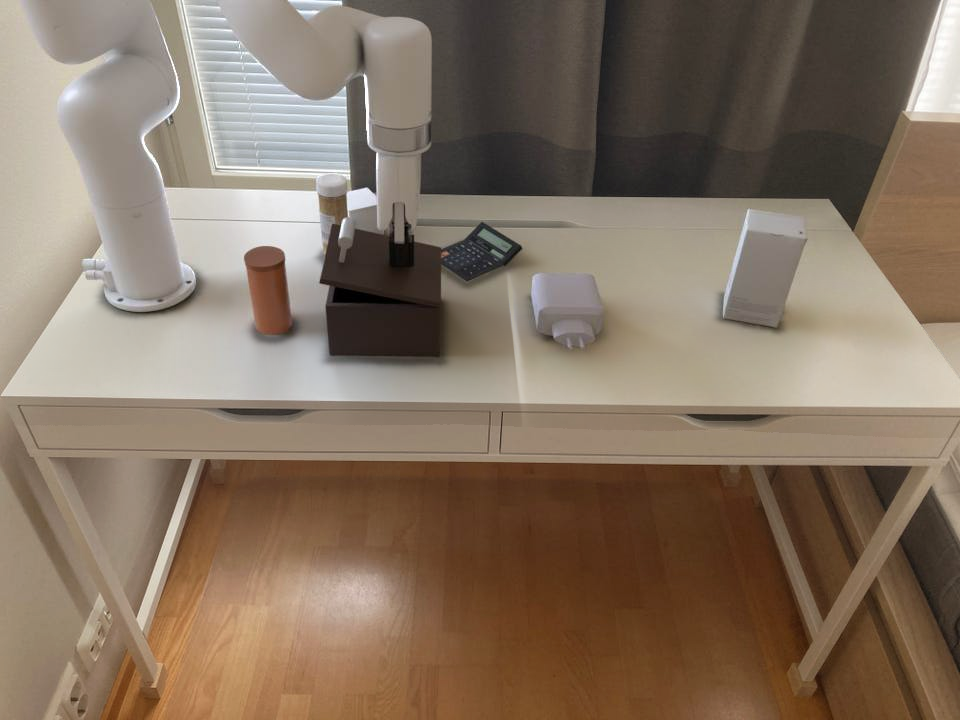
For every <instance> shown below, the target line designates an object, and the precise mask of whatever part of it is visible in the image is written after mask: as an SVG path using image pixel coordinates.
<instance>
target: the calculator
mask: <svg viewBox="0 0 960 720" xmlns="http://www.w3.org/2000/svg"><path fill="white" fill-rule="evenodd" d="M522 250H523V247H522V245H521V244H520V243H518V242H516V241H515V240H513V239H511V238H510V237H508V236H506V235H505V234H503V233H501V232H500V231H499V230H496V229H494V228H493V227H492V226H490V225H489V224H487V223H485V222H483V221H481V222H480V223H479V224H478V225H477V226H476V227H475V228H474V229H473V230H472V231H471V232H470V233H469V234H468V235H467V236H466V237H465V238H464V239H463V240H460V241H458V242H454V243H453V244H450V245H448V246H446V247H445V246H444V247H443V248H441V265H442V266H444V267H445V268H447V269H448V270H449V271H451V272H453V273H454V274H455V275H457V276H459V277H460V278H462V279H463V280H465V281H466V282H468V281H471V280H473V279H475V278H477V277H480V276H482V275H484V274H486V273H489V272H491V271H493V270H496V269H498V268H500V267H502V266H504V267H506V266H507V265H508V264H509V263H510V262H511V261H512V260H513V259H514V258H516V256H517V255H518V254H519V253H520V252H521V251H522Z"/></svg>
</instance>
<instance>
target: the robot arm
mask: <svg viewBox="0 0 960 720" xmlns="http://www.w3.org/2000/svg"><path fill="white" fill-rule="evenodd" d="M18 2H19V5H20V7H21V10H22V11H23V14H24V16H25V18H26V21H27V22H28V25H29V27H30V29H31V32H32V34H33V35H34V37H35V39H36V41H37V43H38V45H39V46H40V47H41V49H42V50H43V51H44V52H45V53H46V55H47V56H48V57H50V58H51V59H53V60H54V61H56V62H58V63H60V64H63V65H70V66H74V65H81V64H85V63H88V62H91V61H93V60H94V59H96V58H99V57H100V56H102V58H103V60H104V62H103V63H101V64H98V65H96V66H94V67H93V68H91V69H89V70H88V71H86V72H84V73H83V74H81V75H79V76H78V77H76V78H75V79H73V80H72V81H71V82H70V83H69V84H67V86H66V87H64V89H63V90H62V92H61V93H60V95H59V98H58V100H57V104H56V118H57V122H58V126H59V127H60V128H59V129H60V130H61V132H62V134H63V136H64V138H65V140H66V142H67V143H68V145H69V147H70V149H71V151H72V153H73V156H74V157H75V160H76V162H77V164H78V167H79V170H80V173H81V175H82V176H81V177H82V179H83V183H84V185H85V187H86V188H85V189H86V192H87V195H88V198H89V201H90V202H89V203H90V205H91V208H92V212H93V215H94V219H95V222H96V226H97V229H98V233H99V237H100V239H101V243H102V246H103V250H104V253H105V259H98V258H83V259H82V262H81V268H82V271H83V272H84V274H85V279H86V280H87V281H98V280H99V281H103V283H104V284H103V293H104V296H105V299H106V301H108V303H109V304H111V305H112V306H113V307H115V308H117V309H120V310H123V311H126V312H133V313H146V312H156V311H161V310H164V309H167V308H170V307H173V306H175V305H177V304H179V303H181V302H183V301H185V299H187V298H188V297H189V296H191V294H192V293H193V292H194V290H195V288H196V286H197V280H196V274H195V272H194V270H193V269H192V268H191V267H190V266H189V265H188V264H186V263H185V262H182V261H181V257H180V253H179V248H178V247H179V246H178V243H177V239H176V235H175V229H174V225H173V221H172V216H171V211H170V206H169V203H168V197H167V192H166V188H165V184H164V179H163V175H162V171H161V169H160V167H159V165H158V163H157V161H156V159H155V158H154V157H153V155H152V154H151V153H150V151H149V150H148V149H147V147H146V145H145V136H146V135H147V134H149V133H150V132H151V131H152V130H153V129H155V127H157V126H159V124H161V123H162V122H163V121H165V120H167V119H168V118H169V117H170V116H171V115H172V114H173V113H174V111H175V110H176V109H177V106H178V104H179V101H180V84H179V80H178V75H177V72H176V69H175V66H174V63H173V60H172V57H171V54H170V51H169V50H168V49H169V48H168V46H167V43H166V40H165V37H164V34H163V32H162V28H161V26H160V23H159V19H158V17H157V14H156V12H155V11H156V10H155V9H154V7H153V3H152V2H151V0H18ZM216 2H217V4H218V6H219V8H220V10H221V12H222V14H223V16H224V18H225V20H226V22H227V24H228V26H229V28H230V30H231V32H232V33H233V34H234V37H236V39H237V41H239V43H240V44H241V45H242V47H243V48H244V49H245V50H246V51H247V52H248V53H249V55H250V56H251V57H252V58H253V59H254V60H255V61H256V62H257V63H258V64H259V65H260V66H261V67H262V68H263V69H264V70H265V71H266V72H267V73H269V75H270V76H272V77H273V78H274V79H275V81H277V82H278V83H279V84H280V85H281V86H282V87H284V88H285V89H286V90H288V91H289V92H290V93H292V94H293V95H295V96H297V97H299V98H301V99H303V100H306V101H307V100H308V101H311V102H321V101H322V102H323V101H327V100H330V99H331V98H333V97H335V96H336V95H338V94H339V93H340V92H341V91H343V89H344V88H345V87H346V86H347V85H348V84H349V83H350V82H351V81H352V80H353V79H356V78H358V77H360V76H361V77H363V78H364V88H365V109H366V131H367V133H366V134H367V145H368V147H369V148H370V149H371V150H372V151H373V152H375V153H376V155H375V156H376V158H375V159H376V160H375V167H376V168H375V187H376V197H377V228H378V230H380V231H382V230H384V231H387V230H388V228H389V234H388V236H389V263H390V266H391V267H413V266H414V242H415V234H413V232H414V231H415V230H416V229H417V224H418V217H419V210H420V209H419V208H420V198H421V197H420V196H421V182H422V181H421V180H422V176H421V175H422V154H423V153H425V152H427V151H428V150H429V149H430V148H431V146H432V95H433V93H432V87H433V86H432V85H433V84H432V82H433V80H432V77H433V76H432V75H433V73H432V72H433V68H432V67H433V39H432V34H431V30H430V29H429V26H427V25H426V24H425V23H424V22H422V21H420V20H418V19H415V18H412V17H406V16H386V17H385V16H381V15H377V14H374V13H370V12H366V11H364V10H361V9H357V8H354V7H350V6H345V5H331V6H327V7H325V8H323V9H321V10H320V11H318V12H317V13H315V14H314V15H313V16H312V17H310V18H309V19H306V18H305V17H304V16H303V15H302V14H301V13H300V12H299V11H298V10H297V8H295V6H294V5H292V3H291V2H290V1H289V0H216Z"/></svg>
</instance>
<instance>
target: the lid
mask: <svg viewBox="0 0 960 720" xmlns="http://www.w3.org/2000/svg"><path fill="white" fill-rule="evenodd" d="M355 225H356V223H355V221H354V219H352V218H350V217H347V218H344V219H343V220H342V224H341V225H337V224H332V225H331V230H330V234H329V239H328V244H327V248H326V253H325V256H324V259H323V261H322V262H323V263H322V268H321V271H320V276H319V281H318V284H319V285H325V286H328V287H329V286H334V287H339V288H344V289H349V290H354V291H359V292H364V293H369V294H374V295H379V296H384V297H388V298H393V299H398V300H403V301H408V302H413V303H418V304H423V305H428V306H433V307H438V308H440V309H441V305H442V264H441V249H442V247H441V246H437V245H432V244H428V243H423V242H419V241H414V266H413V267H391V266H390V263H389V235H387V234H384V235H382V234H378V233H373V232H369V231H364V230H360V229H355Z"/></svg>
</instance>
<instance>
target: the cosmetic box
mask: <svg viewBox="0 0 960 720" xmlns="http://www.w3.org/2000/svg"><path fill="white" fill-rule="evenodd" d="M808 239H809V237H808V230H807V224H806V217H805V216H799V215H793V214H792V215H791V214H787V213H779V212H772V211H766V210H760V209H759V210H758V209H754V208H748V209H747V212H746V215H745V219H744V223H743V226H742V230H741V234H740V237H739V241H738V244H737V248H736V251H735V255H734V259H733V263H732V266H731V270H730V273H729V277H728V281H727V285H726V287H725V291H724V295H723V305H722V306H723V307H722V308H723V309H722V318H723V319H725V320H732V321H736V322H743V323H748V324H755V325H759V326H765V327H770V328H775V329H777V328H778V326H779V323H780V321H781V318H782V314H783V310H784V309H785V306H786V302H787V300H788V296H789V293H790V290H791V288H792V284H793V281H794V280H795V279H794V278H795V276H796V272H797V269H798V266H799V263H800V261H801V257H802V254H803V252H804V248H805V246H806V243H807V241H808Z"/></svg>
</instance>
